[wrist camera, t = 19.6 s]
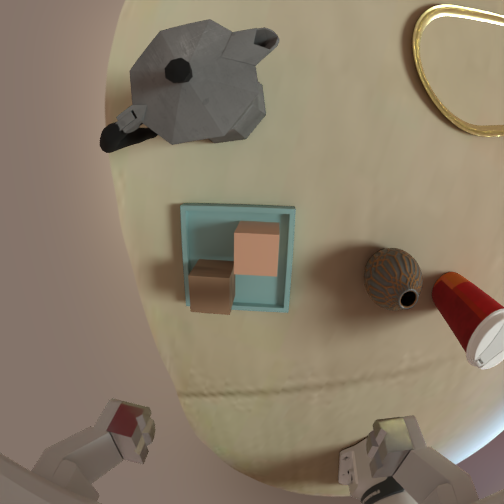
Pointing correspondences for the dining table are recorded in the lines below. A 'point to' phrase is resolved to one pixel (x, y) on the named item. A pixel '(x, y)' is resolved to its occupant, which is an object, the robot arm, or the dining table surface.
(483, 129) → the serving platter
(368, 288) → the vase
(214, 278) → the walnut block
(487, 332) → the paper cup
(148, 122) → the coffeepot
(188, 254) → the tray
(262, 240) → the terracotta block
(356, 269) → the dining table surface
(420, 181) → the dining table surface
